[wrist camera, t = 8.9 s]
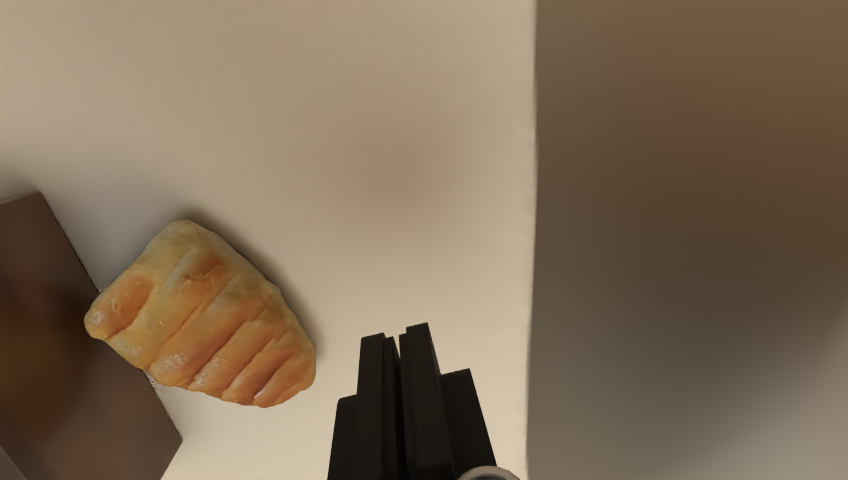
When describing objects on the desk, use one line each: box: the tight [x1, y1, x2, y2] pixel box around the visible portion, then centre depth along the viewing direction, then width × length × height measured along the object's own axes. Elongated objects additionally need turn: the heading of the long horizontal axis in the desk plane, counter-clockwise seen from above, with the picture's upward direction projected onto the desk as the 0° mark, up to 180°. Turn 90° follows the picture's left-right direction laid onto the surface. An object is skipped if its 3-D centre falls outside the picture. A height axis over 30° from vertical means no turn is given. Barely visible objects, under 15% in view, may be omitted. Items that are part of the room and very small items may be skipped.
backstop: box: [0, 192, 182, 480], centre depth 17 cm, size 14×5×7 cm, turn 12°
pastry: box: [84, 219, 316, 408], centre depth 18 cm, size 9×7×4 cm
